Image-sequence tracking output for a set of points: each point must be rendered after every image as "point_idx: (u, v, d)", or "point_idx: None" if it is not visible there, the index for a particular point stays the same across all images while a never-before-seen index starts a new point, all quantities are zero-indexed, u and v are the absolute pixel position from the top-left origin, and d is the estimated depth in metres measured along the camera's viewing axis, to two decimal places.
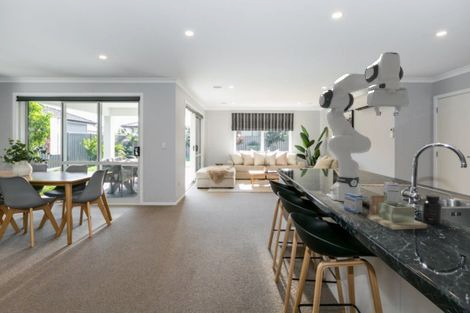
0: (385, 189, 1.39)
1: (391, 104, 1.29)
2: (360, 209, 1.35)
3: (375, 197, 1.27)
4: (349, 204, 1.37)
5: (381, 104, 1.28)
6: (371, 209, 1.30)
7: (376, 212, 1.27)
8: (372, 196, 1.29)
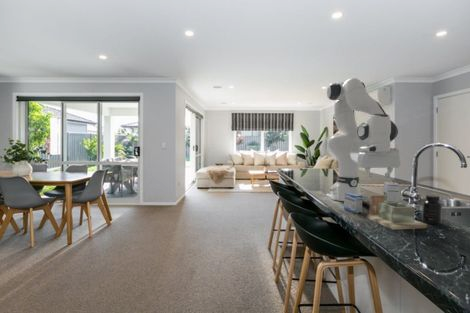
0: (385, 189, 1.39)
1: (382, 166, 1.26)
2: (360, 209, 1.35)
3: (375, 197, 1.27)
4: (349, 204, 1.37)
5: (372, 166, 1.25)
6: (371, 209, 1.30)
7: (376, 212, 1.27)
8: (372, 196, 1.29)
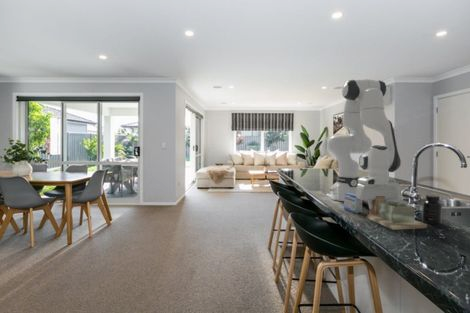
0: None
1: None
2: (360, 209, 1.35)
3: None
4: (349, 204, 1.37)
5: (370, 198, 1.27)
6: (371, 209, 1.30)
7: (376, 212, 1.27)
8: None
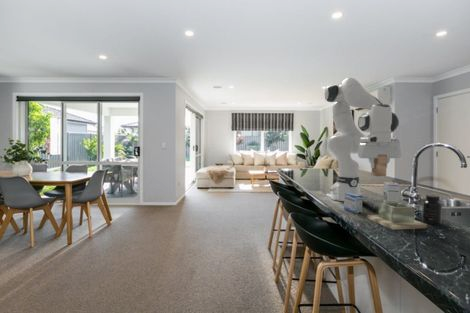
0: (385, 189, 1.39)
1: None
2: (360, 209, 1.35)
3: None
4: (349, 204, 1.37)
5: (372, 157, 1.25)
6: (373, 169, 1.28)
7: (378, 171, 1.26)
8: None
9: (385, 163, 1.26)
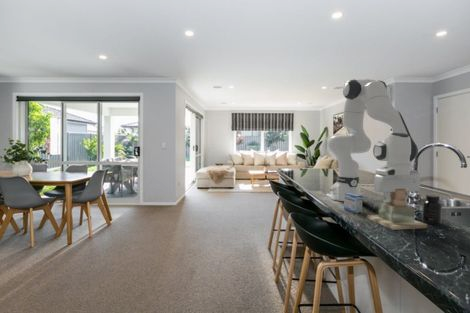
0: None
1: None
2: (360, 209, 1.35)
3: None
4: (349, 204, 1.37)
5: (390, 191, 1.16)
6: (390, 203, 1.19)
7: (396, 206, 1.16)
8: None
9: (403, 198, 1.16)
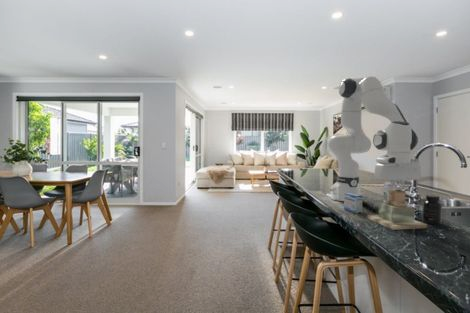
0: (385, 189, 1.39)
1: (402, 179, 1.16)
2: (360, 209, 1.35)
3: (395, 192, 1.16)
4: (349, 204, 1.37)
5: (390, 179, 1.15)
6: None
7: None
8: (391, 191, 1.18)
9: (403, 200, 1.16)
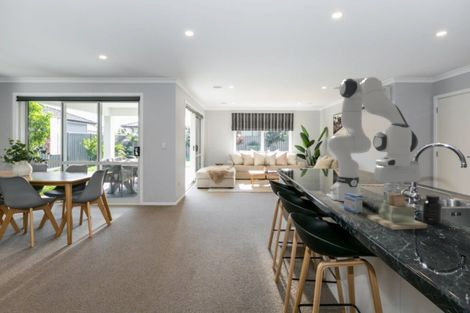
0: (385, 189, 1.39)
1: (401, 181, 1.16)
2: (360, 209, 1.35)
3: (395, 197, 1.16)
4: (349, 204, 1.37)
5: (390, 181, 1.16)
6: None
7: None
8: (391, 195, 1.18)
9: (403, 204, 1.16)
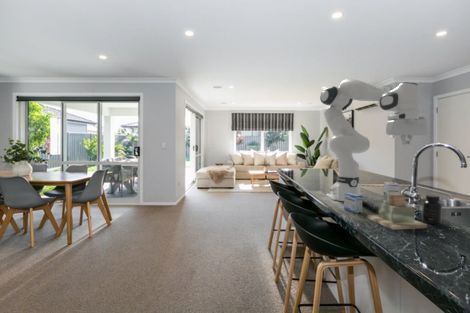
0: (385, 189, 1.39)
1: (410, 133, 1.30)
2: (360, 209, 1.35)
3: (395, 197, 1.16)
4: (349, 204, 1.37)
5: (400, 134, 1.29)
6: None
7: None
8: (391, 195, 1.18)
9: (403, 204, 1.16)
